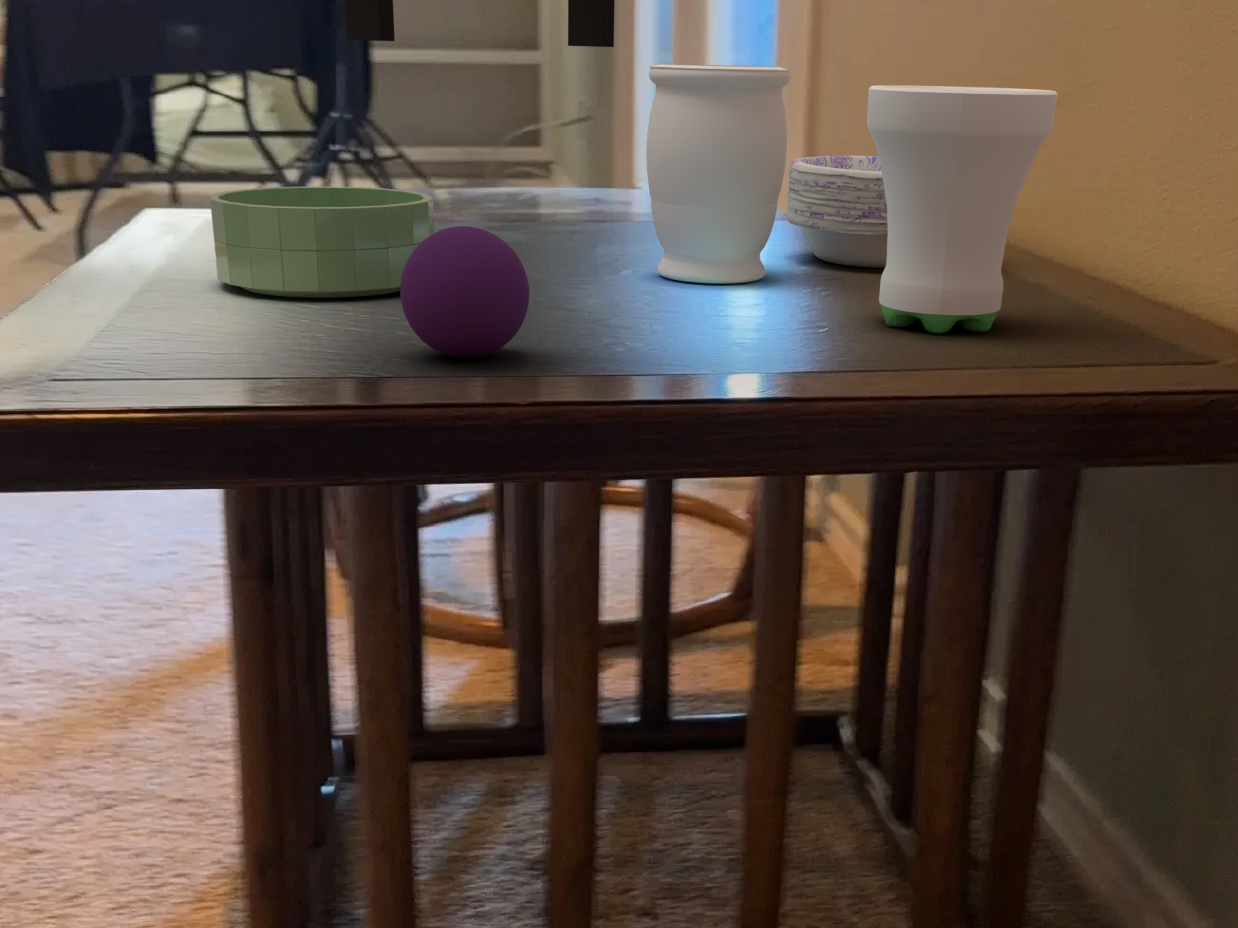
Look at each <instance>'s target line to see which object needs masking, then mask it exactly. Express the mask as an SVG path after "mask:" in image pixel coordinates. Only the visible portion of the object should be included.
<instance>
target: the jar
mask: <svg viewBox="0 0 1238 928" xmlns="http://www.w3.org/2000/svg"><path fill="white" fill-rule="evenodd" d="M648 67H649V71H648V77H649V80H650V81H651V82H652V83H653V84H654V85H655V94H654V97H653V100H652V103H651V108H650V112H649V118H648V127H647V135H646V173H647V180H648V181H647V182H648V183H647V184H648V190H649V196H650V206H651V207H650V208H651V216H652V221H653V226H654V231H655V234H656V237H657V239H658V242H659V245H660V246H661V247H662V249H663V256H662V258H661V260H660V261H659V262H658V263H657V267H656V272H657V273H658V275H660V276H662V277H664V278H667V279H670V280H675V281H679V282H686V283H687V282H688V283H695V284H697V283H699V284H714V285H715V284H721V285H723V284H725V285H727V284H742V283H750V282H755V281H758V280H761V279H763V278H765V276H766V268H765V266H764V264H763V262H762V260H761V253H762V251H763V250H764V249H765V247H766V244H767V243H768V241H769V238H770V236H771V234H772V231H773V227H774V224H775V220H776V216H777V210H778V200H779V197H780V193H781V191H782V186H783V182H784V176H785V171H786V163H787V149H788V148H787V145H788V131H787V130H788V129H787V118H786V117H787V116H786V109H785V104H784V103H785V102H784V99H783V90H784V89H783V88H784V87H786V86H788V84H789V83H790V81H791V72H790V71H791V69H787V68H785V67H781V66H763V65H762V66H759V65H758V66H757V65H756V66H755V65H721V64H719V65H718V64H680V63H679V64H677V63H674V64H673V63H672V64H671V63H670V64H669V63H668V64H667V63H666V64H665V63H662V64H655V65H651V66H650V65H649V66H648Z"/></svg>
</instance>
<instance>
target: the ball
mask: <svg viewBox="0 0 1238 928" xmlns="http://www.w3.org/2000/svg"><path fill="white" fill-rule="evenodd" d="M528 280H529V279H528V276H527V273H526V269H525V267H524V265H523V263H522V261H521V259H520V258H519V256H518V255H517V253H516V252H515V250H514V249H513V248H512V246H510V245H509V244H508V243H507V242H505V240H504V239H502V238H500V236H497V235H496V234H495V233H492V232H491V231H488V230H486V229H482V228H480V227H474V226H468V225H459V226H452V227H447V228H444V229H441V230H438V231H435V232H434V234H432V235H430V236H429V237H427V238H426V239H424V240H423V241H422V242H421V243H420V244H419V245H418V246H417V247H416V248H415V250H414V251H413V252H412V253H411V255H410V257H409V258H408V260H407V262H406V265H405V267H404V270H403V274H402V278H401V285H400V291H399V292H400V293H399V294H400V303H401V308H402V312H403V313H404V316H405V319H406V321H407V322H408V324H409V326H410V328H411V329H412V331H413V332H414V333H415V335H416V336H417V337H418V339H420V341H422V342H423V343H424V344H425V345H426V346H428V347H430V348H431V349H433V350H434V351H436V352H438V353H440V354H442V355H445V356H449V357H451V358H452V357H453V358H458V359H476V358H477V359H478V358H481V357H485V356H488V355H490V354H493V353H494V352H497V351H498V350H500V349H502V348H503V347H504V346H506V345H507V344H508V343H510V342H511V340H513V338H514V337H515V336H516V335H517V333H518V332H519V330H520V329H521V327H522V325H523V322H524V321H525V318H526V316H527V313H528V309H529V303H530V285H529V281H528Z"/></svg>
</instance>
